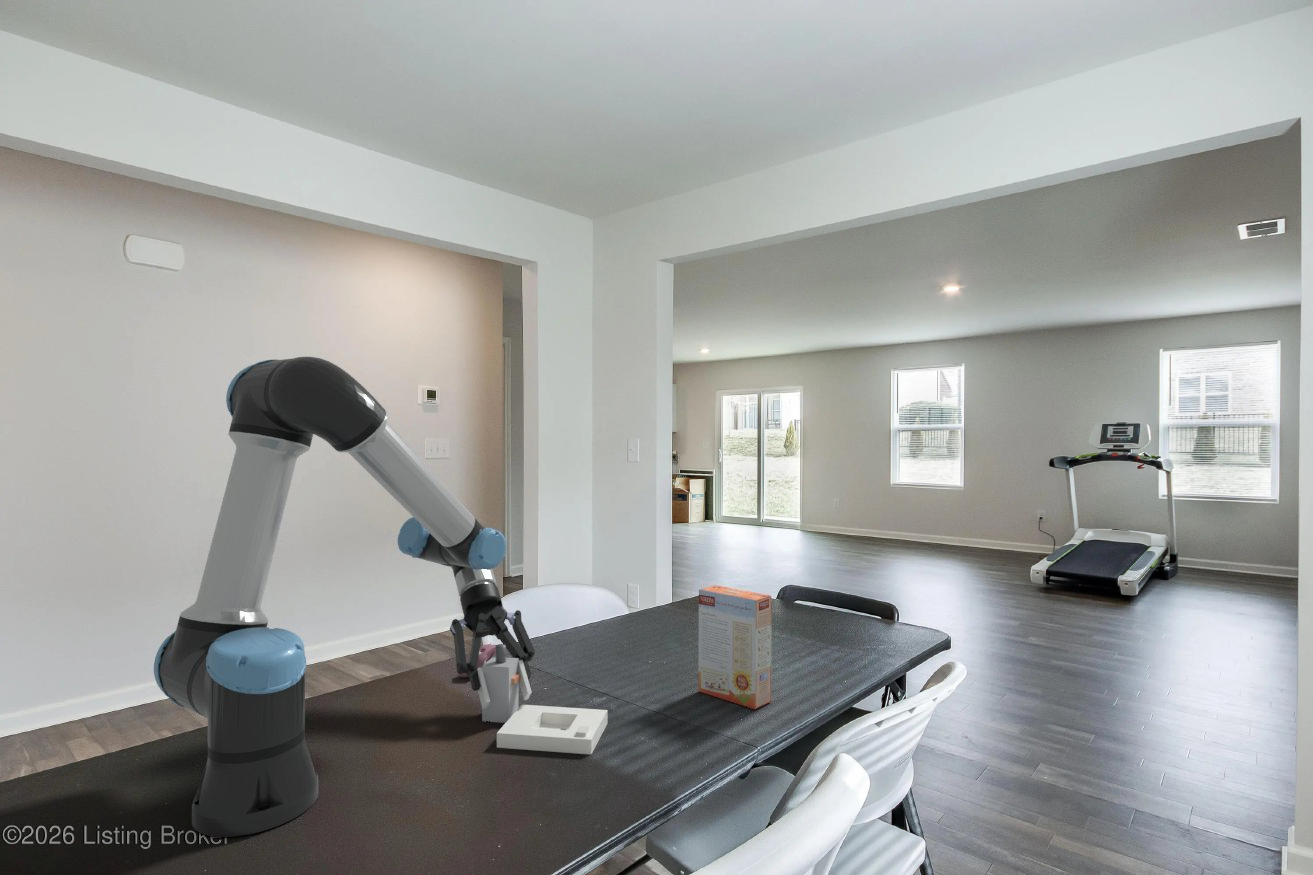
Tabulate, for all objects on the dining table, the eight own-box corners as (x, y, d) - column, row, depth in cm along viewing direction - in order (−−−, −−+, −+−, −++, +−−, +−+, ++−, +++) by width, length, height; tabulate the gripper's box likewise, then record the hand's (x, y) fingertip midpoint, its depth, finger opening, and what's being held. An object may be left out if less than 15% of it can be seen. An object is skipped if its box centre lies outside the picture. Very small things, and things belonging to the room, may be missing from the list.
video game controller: (473, 686, 144) (487, 658, 143) (455, 675, 145) (469, 647, 144) (493, 671, 153) (506, 644, 153) (476, 660, 154) (489, 633, 154)
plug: (482, 721, 123) (482, 649, 123) (492, 709, 128) (492, 640, 128) (512, 723, 122) (512, 650, 122) (521, 711, 127) (521, 642, 127)
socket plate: (496, 747, 113) (496, 729, 113) (521, 717, 125) (521, 701, 124) (591, 754, 110) (591, 735, 110) (607, 723, 122) (607, 706, 122)
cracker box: (772, 702, 132) (773, 594, 132) (754, 711, 128) (755, 599, 128) (715, 683, 142) (716, 583, 142) (697, 691, 137) (697, 587, 137)
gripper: (521, 596, 143) (552, 699, 130) (423, 609, 133) (447, 722, 119) (531, 575, 139) (564, 679, 125) (430, 587, 128) (455, 702, 114)
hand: (507, 700), depth 122 cm, fingers closed on plug, 7 cm apart
